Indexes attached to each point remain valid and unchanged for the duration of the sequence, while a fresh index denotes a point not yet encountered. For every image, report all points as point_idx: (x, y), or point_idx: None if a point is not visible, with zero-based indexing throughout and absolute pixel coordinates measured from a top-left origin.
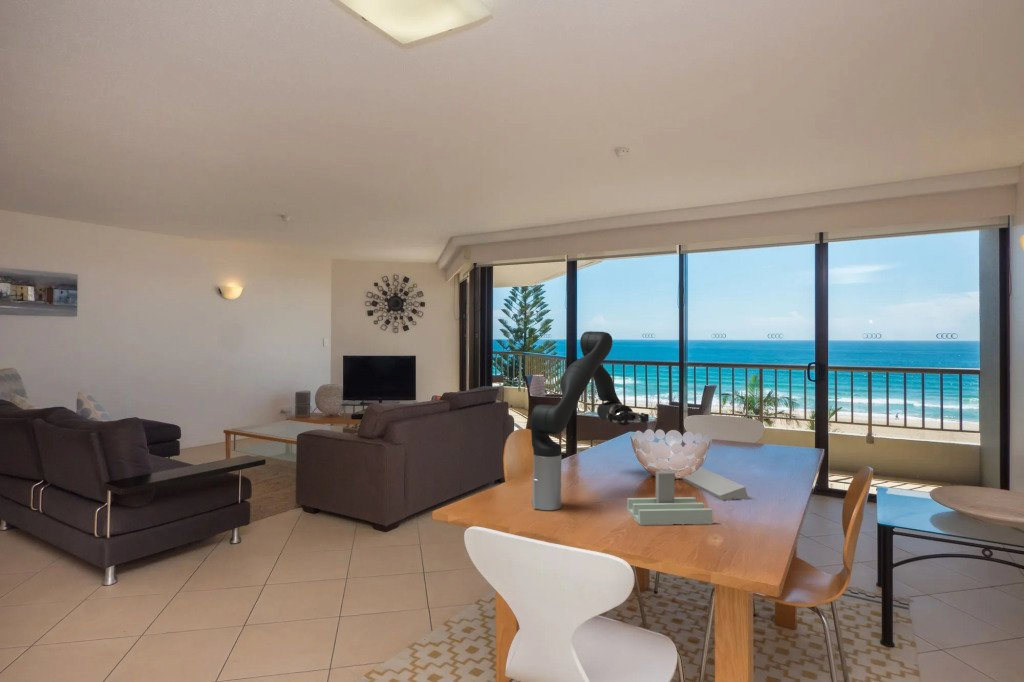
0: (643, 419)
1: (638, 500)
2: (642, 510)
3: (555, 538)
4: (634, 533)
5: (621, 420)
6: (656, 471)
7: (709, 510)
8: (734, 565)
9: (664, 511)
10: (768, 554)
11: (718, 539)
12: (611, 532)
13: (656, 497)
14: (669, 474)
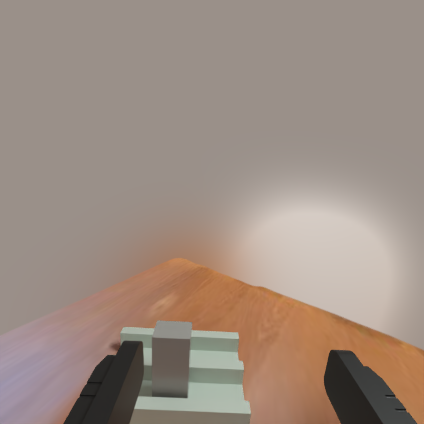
0: (139, 368)
1: (225, 402)
2: (233, 333)
3: (339, 321)
4: (248, 325)
5: (326, 371)
6: (188, 337)
7: (128, 328)
8: (183, 270)
9: (199, 332)
10: (142, 278)
11: (159, 303)
12: (277, 331)
13: (188, 381)
14: (168, 322)
